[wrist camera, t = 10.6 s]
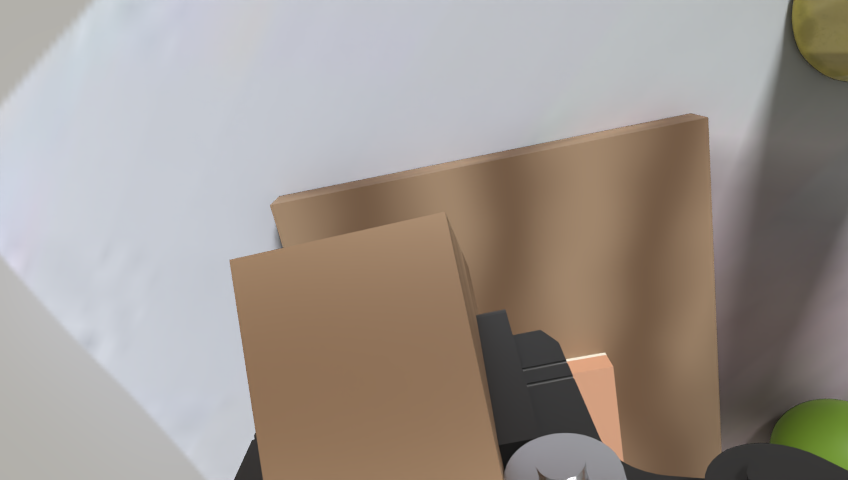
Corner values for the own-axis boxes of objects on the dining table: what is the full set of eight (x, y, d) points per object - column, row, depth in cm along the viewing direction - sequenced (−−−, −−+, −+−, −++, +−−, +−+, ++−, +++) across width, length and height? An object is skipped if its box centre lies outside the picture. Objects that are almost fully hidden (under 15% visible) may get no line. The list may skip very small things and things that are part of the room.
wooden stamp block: (213, 321, 13) (-84, 330, 6) (635, 230, 12) (818, 128, 6) (253, 593, 12) (-44, 948, 5) (710, 514, 12) (1045, 818, 5)
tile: (613, 366, 24) (627, 492, 26) (604, 352, 25) (618, 474, 28) (433, 397, 25) (461, 517, 27) (432, 382, 26) (459, 499, 28)
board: (691, 113, 23) (708, 117, 22) (708, 458, 29) (722, 479, 28) (279, 196, 25) (270, 205, 23) (372, 510, 30) (370, 532, 29)
